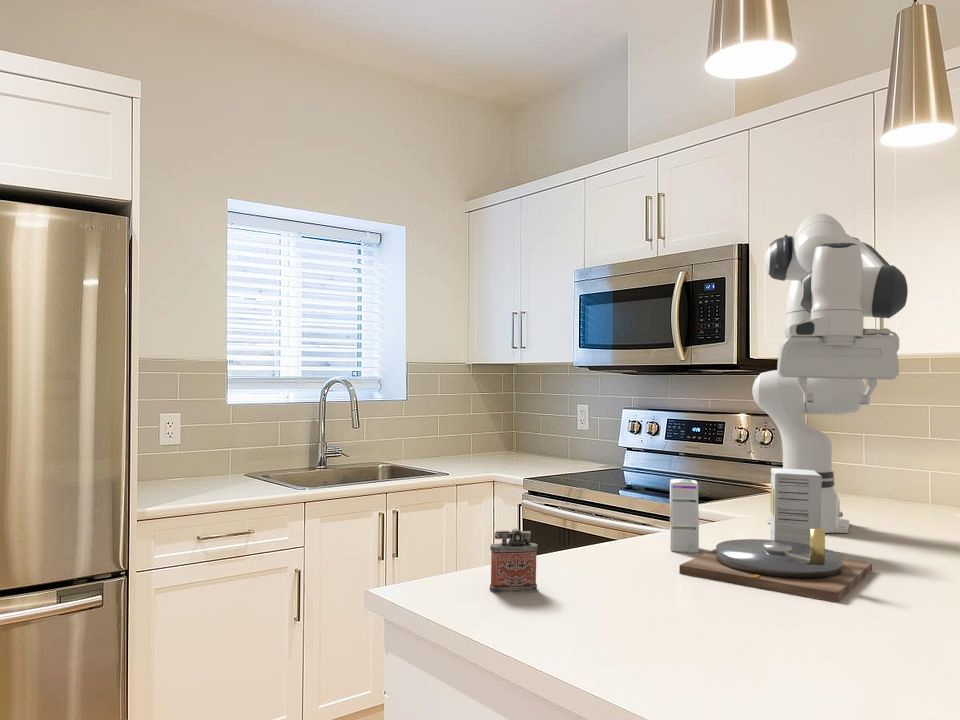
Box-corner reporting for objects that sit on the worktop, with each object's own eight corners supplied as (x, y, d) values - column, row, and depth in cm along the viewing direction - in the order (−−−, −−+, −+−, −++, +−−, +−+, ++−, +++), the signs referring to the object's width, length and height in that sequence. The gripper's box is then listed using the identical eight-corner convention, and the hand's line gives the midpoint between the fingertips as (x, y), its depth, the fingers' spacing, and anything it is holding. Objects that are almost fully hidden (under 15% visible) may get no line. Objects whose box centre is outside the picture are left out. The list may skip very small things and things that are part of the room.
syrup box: (699, 553, 155) (700, 482, 156) (669, 551, 156) (670, 481, 157) (697, 547, 161) (697, 479, 161) (668, 545, 162) (669, 478, 162)
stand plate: (731, 549, 160) (731, 541, 160) (872, 570, 143) (872, 561, 143) (679, 573, 139) (679, 563, 139) (837, 602, 122) (837, 591, 122)
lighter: (533, 586, 128) (534, 527, 128) (539, 591, 125) (540, 531, 125) (487, 588, 126) (488, 528, 127) (492, 593, 123) (493, 532, 123)
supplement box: (769, 543, 166) (770, 467, 166) (814, 547, 163) (815, 469, 164) (773, 553, 157) (774, 472, 157) (821, 557, 154) (822, 474, 155)
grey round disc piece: (691, 553, 147) (692, 512, 147) (779, 546, 155) (780, 507, 155) (774, 582, 127) (774, 534, 127) (870, 572, 135) (870, 527, 135)
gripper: (894, 330, 139) (894, 405, 138) (776, 329, 144) (775, 401, 143) (904, 327, 133) (904, 405, 132) (780, 326, 138) (779, 401, 137)
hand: (836, 403), depth 138 cm, fingers open, 8 cm apart
